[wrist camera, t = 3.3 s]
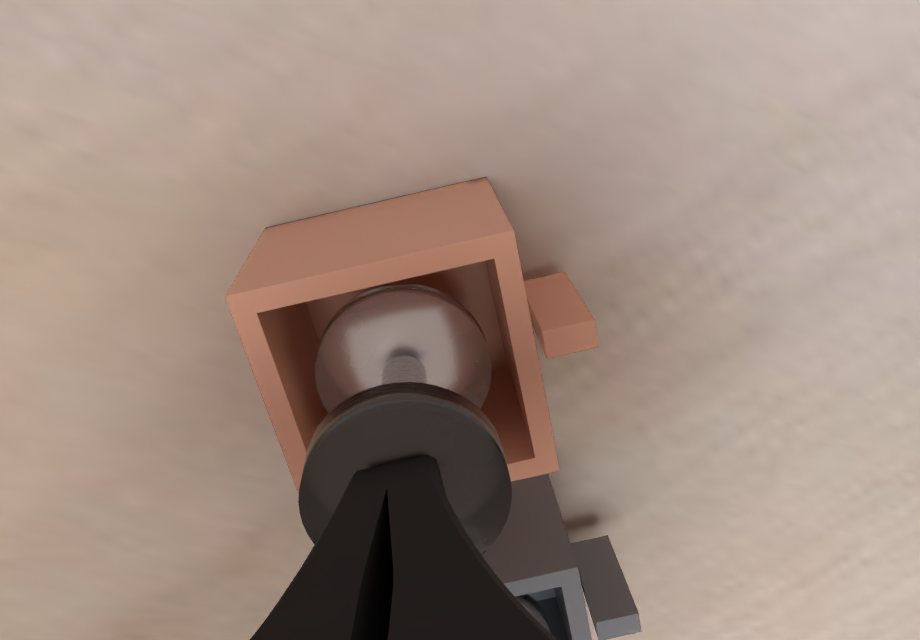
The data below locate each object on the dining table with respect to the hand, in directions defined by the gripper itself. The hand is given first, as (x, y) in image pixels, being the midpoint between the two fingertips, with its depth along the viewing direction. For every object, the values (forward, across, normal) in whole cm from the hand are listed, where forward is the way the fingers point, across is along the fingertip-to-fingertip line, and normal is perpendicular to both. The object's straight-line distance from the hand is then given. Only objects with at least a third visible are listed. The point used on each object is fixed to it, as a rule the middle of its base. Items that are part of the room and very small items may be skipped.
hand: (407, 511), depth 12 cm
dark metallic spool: (+6, 0, 0) cm, 6 cm away
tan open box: (+9, 0, 0) cm, 9 cm away
